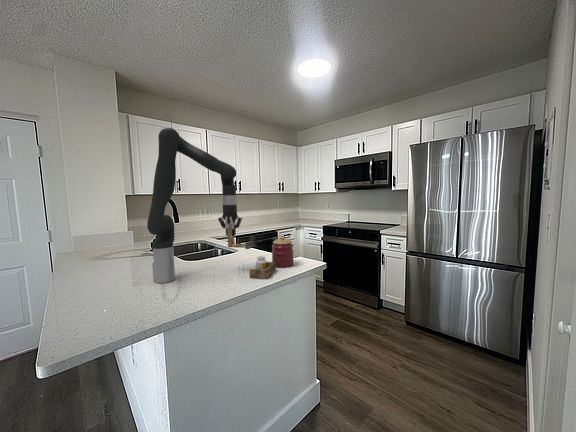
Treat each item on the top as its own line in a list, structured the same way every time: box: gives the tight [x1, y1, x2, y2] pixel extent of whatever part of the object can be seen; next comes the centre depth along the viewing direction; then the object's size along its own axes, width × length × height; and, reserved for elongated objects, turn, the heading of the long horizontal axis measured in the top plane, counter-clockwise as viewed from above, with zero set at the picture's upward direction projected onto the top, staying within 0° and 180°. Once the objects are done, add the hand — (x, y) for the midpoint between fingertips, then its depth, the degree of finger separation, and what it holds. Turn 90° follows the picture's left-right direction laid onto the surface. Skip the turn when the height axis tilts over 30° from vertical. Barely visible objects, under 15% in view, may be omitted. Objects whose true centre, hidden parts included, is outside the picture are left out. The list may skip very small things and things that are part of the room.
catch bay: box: [249, 261, 277, 280], centre depth 131 cm, size 10×15×4 cm, turn 167°
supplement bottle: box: [255, 255, 267, 269], centre depth 131 cm, size 5×5×10 cm
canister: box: [271, 235, 294, 269], centre depth 147 cm, size 13×13×18 cm
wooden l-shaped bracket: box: [227, 223, 255, 250], centre depth 133 cm, size 13×8×13 cm, turn 77°
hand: (230, 235), depth 134 cm, fingers closed on wooden l-shaped bracket, 2 cm apart
